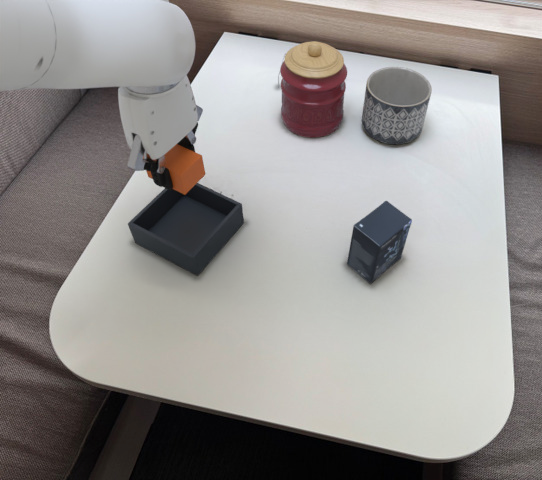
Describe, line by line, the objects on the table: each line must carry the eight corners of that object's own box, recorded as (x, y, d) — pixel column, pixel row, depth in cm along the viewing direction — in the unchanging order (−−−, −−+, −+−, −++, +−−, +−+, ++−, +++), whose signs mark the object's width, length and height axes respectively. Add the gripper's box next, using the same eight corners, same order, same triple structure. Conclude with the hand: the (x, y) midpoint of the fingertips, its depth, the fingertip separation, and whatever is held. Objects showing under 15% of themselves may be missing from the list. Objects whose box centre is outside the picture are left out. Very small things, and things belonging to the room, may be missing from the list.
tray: (197, 276, 84) (192, 258, 80) (134, 242, 88) (127, 223, 84) (244, 222, 92) (241, 203, 88) (184, 193, 95) (179, 174, 91)
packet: (185, 195, 77) (180, 176, 74) (148, 177, 79) (141, 157, 75) (205, 174, 79) (202, 155, 76) (169, 157, 81) (164, 138, 78)
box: (370, 285, 85) (379, 246, 76) (346, 264, 87) (351, 224, 79) (401, 259, 88) (413, 219, 80) (377, 239, 91) (386, 198, 82)
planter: (389, 156, 104) (398, 115, 95) (348, 123, 109) (353, 81, 101) (433, 132, 109) (445, 90, 101) (392, 101, 115) (399, 59, 106)
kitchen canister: (279, 100, 113) (278, 24, 99) (338, 98, 114) (345, 23, 100) (282, 140, 105) (281, 63, 91) (346, 138, 106) (354, 62, 92)
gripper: (171, 28, 70) (191, 133, 84) (76, 95, 61) (117, 199, 75) (216, 46, 68) (229, 150, 82) (125, 118, 59) (158, 220, 73)
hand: (176, 172), depth 79 cm, fingers closed on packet, 5 cm apart
